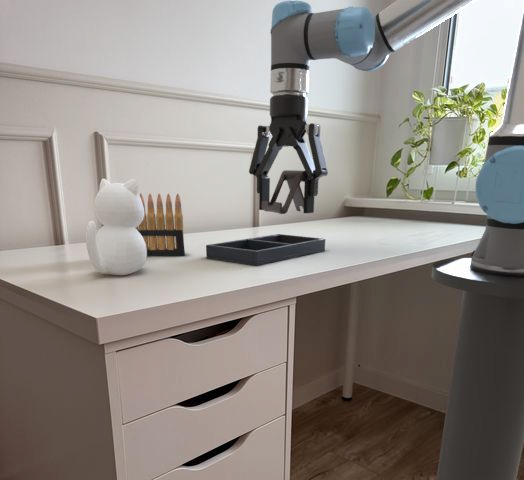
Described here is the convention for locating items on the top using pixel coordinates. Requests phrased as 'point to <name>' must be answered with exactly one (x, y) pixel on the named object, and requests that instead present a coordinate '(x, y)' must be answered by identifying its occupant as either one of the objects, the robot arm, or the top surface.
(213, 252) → the divided tray
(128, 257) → the cat figurine
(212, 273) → the top surface
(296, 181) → the tablet stand
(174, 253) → the ammunition clip
